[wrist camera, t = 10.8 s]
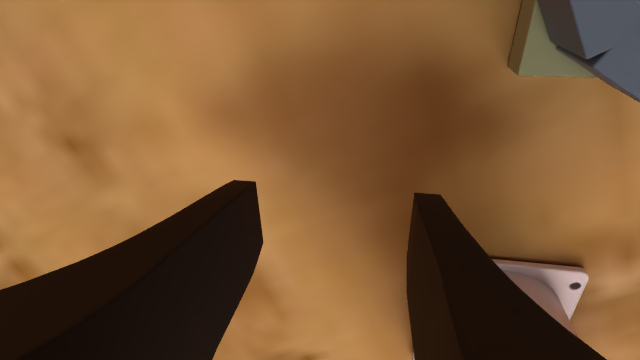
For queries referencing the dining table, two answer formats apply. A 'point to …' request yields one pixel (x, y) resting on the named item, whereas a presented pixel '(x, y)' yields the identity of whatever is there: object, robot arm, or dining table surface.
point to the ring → (599, 38)
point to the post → (539, 48)
